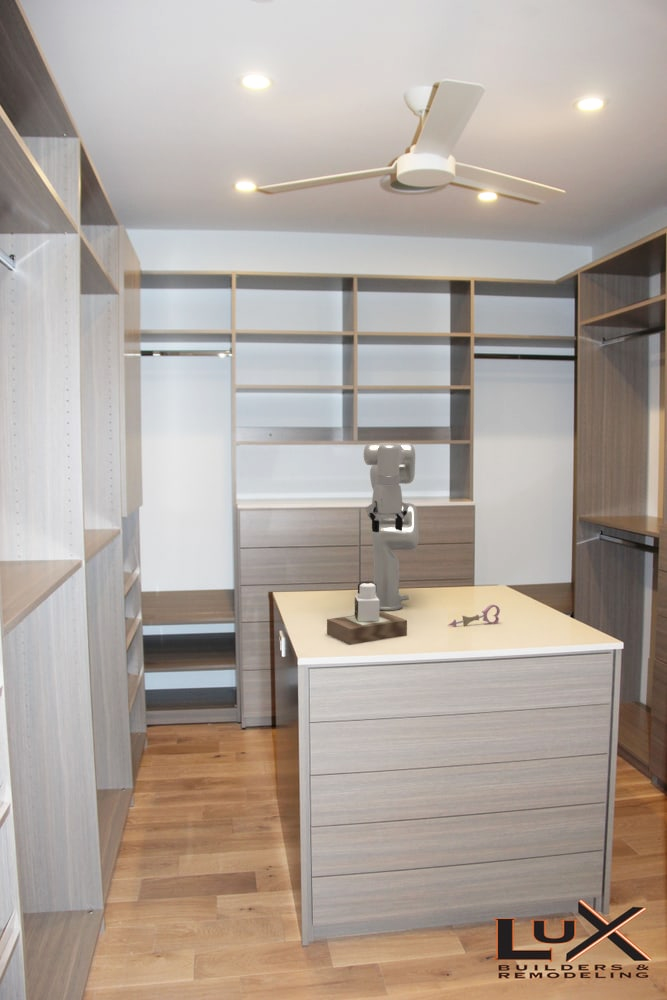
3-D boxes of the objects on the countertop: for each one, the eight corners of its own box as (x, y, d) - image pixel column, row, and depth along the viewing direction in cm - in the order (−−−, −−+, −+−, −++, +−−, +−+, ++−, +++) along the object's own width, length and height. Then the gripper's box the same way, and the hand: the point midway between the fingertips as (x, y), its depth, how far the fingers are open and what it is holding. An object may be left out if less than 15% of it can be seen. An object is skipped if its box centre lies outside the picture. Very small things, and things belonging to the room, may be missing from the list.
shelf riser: (382, 625, 254) (382, 610, 253) (406, 635, 242) (407, 619, 241) (326, 634, 242) (326, 618, 242) (349, 644, 230) (350, 628, 230)
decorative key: (448, 635, 254) (499, 621, 259) (449, 636, 252) (501, 622, 258) (445, 616, 253) (497, 603, 258) (447, 617, 252) (498, 603, 257)
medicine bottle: (354, 616, 245) (354, 580, 244) (375, 616, 245) (376, 580, 244) (357, 622, 238) (357, 585, 237) (379, 621, 238) (379, 584, 237)
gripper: (401, 479, 260) (401, 528, 262) (360, 481, 251) (360, 531, 253) (415, 481, 254) (414, 530, 255) (373, 482, 245) (372, 533, 246)
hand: (387, 530), depth 254 cm, fingers open, 9 cm apart
